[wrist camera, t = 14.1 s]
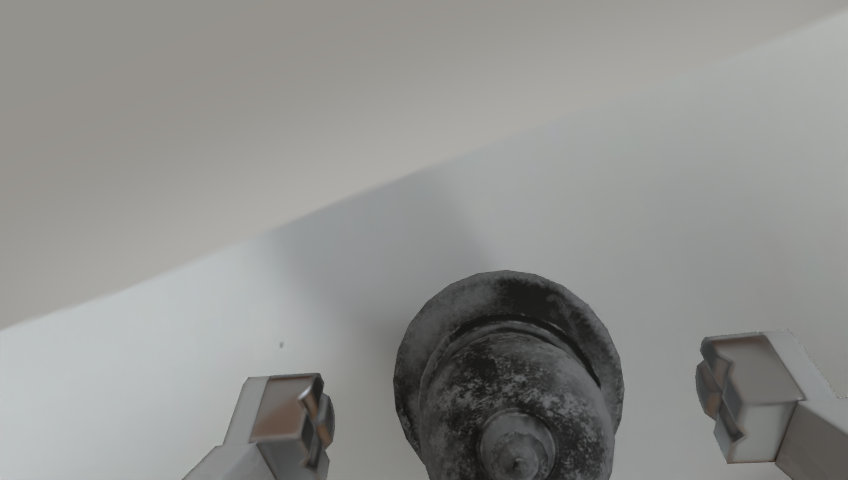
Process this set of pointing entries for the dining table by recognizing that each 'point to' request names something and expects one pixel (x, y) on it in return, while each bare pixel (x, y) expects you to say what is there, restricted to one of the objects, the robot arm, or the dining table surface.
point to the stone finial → (509, 382)
